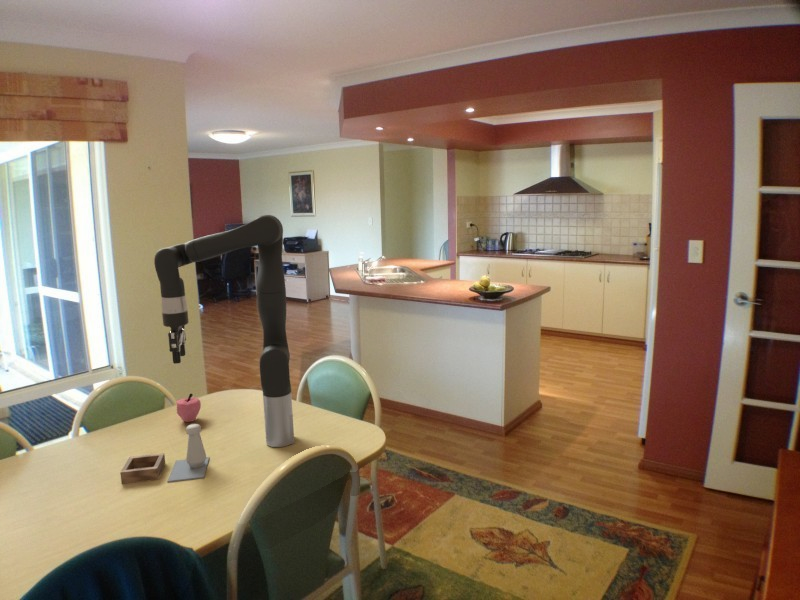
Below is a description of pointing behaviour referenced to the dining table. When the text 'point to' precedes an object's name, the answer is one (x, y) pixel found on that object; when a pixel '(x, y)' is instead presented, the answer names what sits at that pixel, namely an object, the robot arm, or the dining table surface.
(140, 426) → the dining table surface
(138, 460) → the pocket block
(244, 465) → the dining table surface
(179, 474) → the rubber mat
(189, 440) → the salt shaker
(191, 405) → the apple
